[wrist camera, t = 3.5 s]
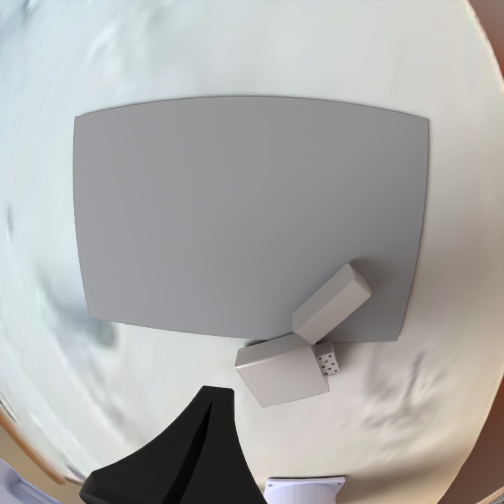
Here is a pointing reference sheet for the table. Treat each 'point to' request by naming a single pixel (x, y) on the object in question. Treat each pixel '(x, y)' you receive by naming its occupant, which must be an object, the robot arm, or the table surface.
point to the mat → (247, 212)
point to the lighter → (303, 345)
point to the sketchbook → (498, 500)
